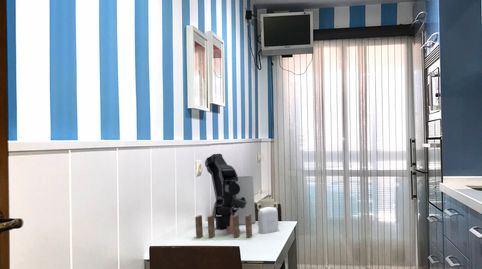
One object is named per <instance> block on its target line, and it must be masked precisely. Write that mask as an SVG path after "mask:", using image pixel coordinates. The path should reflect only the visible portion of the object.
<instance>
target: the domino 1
mask: <svg viewBox="0 0 482 269" xmlns="http://www.w3.org/2000/svg"><path fill="white" fill-rule="evenodd" d="M194 220H195V221H194V223H195V234H196V235H195V238H196V239H200V238H201V237H203V235H204V231H203V215H202V214H200V215H196V216H195V217H194Z"/></svg>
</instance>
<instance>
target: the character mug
mask: <svg viewBox="0 0 482 269" xmlns="http://www.w3.org/2000/svg"><path fill="white" fill-rule="evenodd" d="M265 207H274V208H276V209H277V210H278V208H279V205H278V202H275V200H274V199H273V198H264V199H260V203H257V204H256V209H257V210H258V211H259V210H260V209H262V208H265Z"/></svg>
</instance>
